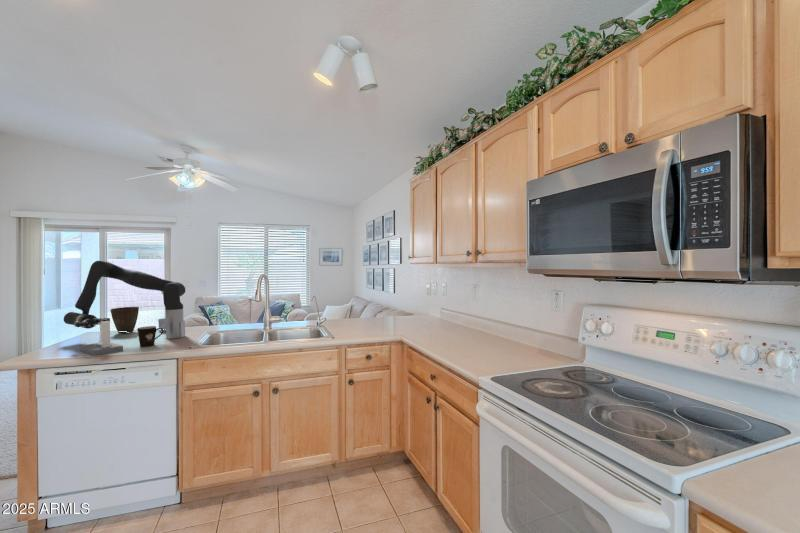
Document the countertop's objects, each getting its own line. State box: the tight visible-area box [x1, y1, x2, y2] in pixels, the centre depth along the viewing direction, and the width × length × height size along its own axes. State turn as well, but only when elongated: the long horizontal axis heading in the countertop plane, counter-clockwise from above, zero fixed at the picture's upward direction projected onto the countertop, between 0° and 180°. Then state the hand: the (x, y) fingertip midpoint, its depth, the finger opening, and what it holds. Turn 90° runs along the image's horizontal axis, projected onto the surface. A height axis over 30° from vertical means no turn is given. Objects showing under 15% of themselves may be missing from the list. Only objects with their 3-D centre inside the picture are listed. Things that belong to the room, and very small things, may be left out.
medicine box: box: [158, 317, 166, 333], centre depth 244 cm, size 8×4×9 cm, turn 168°
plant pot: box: [110, 306, 140, 335], centre depth 239 cm, size 15×15×16 cm
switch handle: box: [100, 320, 111, 348], centre depth 189 cm, size 2×3×13 cm
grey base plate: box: [79, 341, 124, 357], centre depth 192 cm, size 20×12×3 cm, turn 56°
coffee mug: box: [136, 325, 164, 348], centre depth 203 cm, size 12×9×10 cm
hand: (97, 323), depth 195 cm, fingers open, 8 cm apart
